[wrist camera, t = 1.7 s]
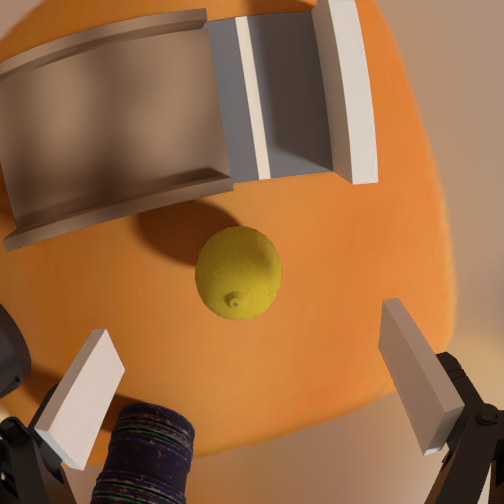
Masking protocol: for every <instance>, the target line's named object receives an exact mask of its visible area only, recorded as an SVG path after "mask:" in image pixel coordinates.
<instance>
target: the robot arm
mask: <svg viewBox="0 0 504 504" xmlns="http://www.w3.org/2000/svg"><path fill="white" fill-rule="evenodd" d="M378 348H379V350H380V352H381V354H382V356H383V359H384V361H385V363H386V365H387V368H388V370H389V372H390V374H391V377H392V379H393V381H394V384H395V386H396V388H397V391H398V393H399V395H400V398H401V400H402V403H403V405H404V407H405V410H406V412H407V415H408V417H409V419H410V422H411V425H412V427H413V430H414V432H415V435H416V437H417V440H418V443H419V445H420V448H421V450H422V453H423V456H425V455H428V454H431V453H434V452H437V451H440V450H442V448H443V446H444V444H445V443H447V445H448V447H449V451H448V453H447V454H446V456H445V458H444V459H443V461H442V463H443V465H442V467H441V469H440V472H439V474H438V476H437V478H436V481H435V483H434V485H433V487H432V489H431V491H430V493H429V495H428V497H427V499H426V501H425V503H424V504H477V503H478V500H479V498H480V495H481V492H482V489H483V486H484V484H485V481H486V478H487V474H488V471H489V468H490V465H491V478H490V490H489V500H488V504H504V410H498V409H497V408H496V407H495V406H493V405H491V404H486V403H484V402H483V400H482V399H481V397H480V396H479V394H478V392H477V391H476V389H475V387H474V386H473V384H472V383H471V381H470V380H469V378H468V376H466V373H465V372H464V370H463V369H462V367H461V365H460V364H459V362H458V361H457V359H456V358H455V357H453V356H452V355H450V354H449V353H448V352H443V353H439V354H436V355H435V354H434V352H433V350H432V349H431V347H430V346H429V344H428V342H427V341H426V339H425V338H424V336H423V335H422V333H421V332H420V330H419V329H418V327H417V325H416V324H415V322H414V321H413V319H412V318H411V316H410V315H409V313H408V312H407V310H406V309H405V307H404V306H403V305H402V303H401V302H400V300H399V299H398V298H394V299H389V300H383V303H382V315H381V326H380V335H379V344H378ZM30 369H31V359H30V354H29V351H28V348H27V345H26V343H25V341H24V339H23V337H22V335H21V333H20V331H19V330H18V328H17V326H16V325H15V323H14V322H13V320H12V319H11V318H10V316H9V315H8V314H7V312H6V311H5V310H4V309H3V308H2V306H1V305H0V399H2V398H3V397H5V396H6V395H8V394H9V393H11V392H12V391H14V390H15V389H17V388H18V387H20V386H21V384H22V383H23V382H24V380H25V379H26V377H27V376H28V374H29V372H30ZM124 371H125V369H124V367H123V365H122V363H121V361H120V359H119V356H118V354H117V352H116V350H115V348H114V346H113V343H112V341H111V339H110V337H109V334H108V332H107V330H106V329H94V330H93V331H92V333H91V334H90V336H89V337H88V339H87V340H86V342H85V343H84V345H83V346H82V348H81V350H80V351H79V353H78V354H77V356H76V357H75V359H74V361H73V362H72V364H71V365H70V367H69V369H68V370H67V372H66V374H65V375H64V377H63V379H62V380H61V382H60V384H56V385H55V386H54V387H52V388H51V389H50V390H49V391H48V393H47V395H46V396H45V398H44V401H42V403H41V405H40V407H39V408H38V410H37V412H36V413H35V415H34V417H33V419H32V420H31V422H30V424H29V426H28V428H26V427H25V426H24V425H23V423H22V422H21V421H20V420H19V419H18V418H17V417H13V416H11V417H8V418H6V419H4V420H3V421H2V422H1V423H0V436H1V437H2V439H0V504H77V503H76V501H75V498H74V496H73V493H72V491H71V488H70V486H69V483H68V480H67V478H66V475H65V472H64V470H63V468H62V466H61V465H60V464H61V462H62V460H63V461H64V462H65V463H66V464H67V465H68V466H69V467H71V468H74V469H79V470H84V467H85V465H86V462H87V459H88V457H89V454H90V452H91V449H92V446H93V444H94V441H95V439H96V436H97V434H98V431H99V429H100V427H101V424H102V422H103V419H104V417H105V414H106V412H107V410H108V407H109V405H110V403H111V400H112V398H113V396H114V393H115V391H116V389H117V386H118V384H119V382H120V380H121V377H122V375H123V373H124ZM1 473H2V474H3V475H4V476H5V479H4V480H2V479H1Z"/></svg>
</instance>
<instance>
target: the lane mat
mask: <svg viewBox="0 0 504 504" xmlns="http://www.w3.org/2000/svg"><path fill="white" fill-rule="evenodd" d="M247 21H248V27H249V33H250V40H251V46H252V52H253V58H254V65H255V71H256V78H257V85H258V91H259V98H260V105H261V112H262V119H263V126H264V133H265V140H266V147H267V155H268V162H269V170H270V177H271V178H277V177H285V176H294V175H303V174H312V173H321V172H332V171H333V163H332V153H331V142H330V133H329V124H328V115H327V107H326V99H325V92H324V85H323V78H322V71H321V64H320V58H319V52H318V46H317V40H316V35H315V29H314V24H313V19H312V14H311V12H288V13H273V14H262V15H253V16H247ZM202 29H208V33H209V40H210V46H211V53H212V60H213V66H214V73H215V80H216V86H217V93H218V99H219V106H220V112H221V119H222V125H223V132H224V138H225V144H226V151H227V157H228V163H229V170H230V173H227V174H225V175H227V176H229V177H231V178H232V183H239V182H246V181H254V180H259V175H258V167H257V160H256V153H255V146H254V139H253V132H252V125H251V119H250V112H249V105H248V98H247V92H246V85H245V78H244V72H243V65H242V59H241V52H240V46H239V40H238V33H237V27H236V21H235V18H230V19H223V20H217V21H211V22H206V23H205V24H204V26H203V28H202Z"/></svg>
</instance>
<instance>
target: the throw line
mask: <svg viewBox="0 0 504 504" xmlns="http://www.w3.org/2000/svg"><path fill="white" fill-rule="evenodd" d="M235 21H236V27H237V33H238V40H239V46H240V52H241V59H242V65H243V72H244V78H245V85H246V92H247V98H248V105H249V112H250V119H251V125H252V132H253V139H254V146H255V153H256V160H257V167H258V175H259V180H262V179H270V178H271V177H270V170H269V162H268V155H267V147H266V140H265V133H264V126H263V119H262V112H261V105H260V98H259V91H258V85H257V78H256V71H255V65H254V58H253V52H252V46H251V40H250V33H249V27H248V21H247V16H243V17H235Z"/></svg>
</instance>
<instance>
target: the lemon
mask: <svg viewBox="0 0 504 504" xmlns="http://www.w3.org/2000/svg"><path fill="white" fill-rule="evenodd" d="M281 271H282V268H281V263H280V258H279V255H278V252H277V251H276V249H275V247H274V245H273V244H272V242H271V241H270V240H269V239H268V238H267V237H266V236H265V235H264V234H262V233H260V232H259V231H257V230H255V229H252V228H249V227H244V226H234V227H228V228H225V229H223V230H221V231H218V232H217V233H215V234H214V235H213V236H212V237H210V238H209V239H208V240H207V242H206V243H205V244H204V246H203V247H202V249H201V250H200V253H199V256H198V258H197V261H196V270H195V280H196V285H197V290H198V293H199V295H200V297H201V299H202V300H203V302H204V304H205V305H206V306H207V307H208V308H209V309H210V310H211V311H213V312H214V313H215V314H217V315H218V316H221V317H223V318H226V319H230V320H246V319H250V318H253V317H255V316H257V315H259V314H261V313H262V312H263V311H265V310H266V309H267V308H268V307H269V306H270V305H271V303H272V302H273V300H274V299H275V297H276V295H277V292H278V289H279V286H280V283H281Z"/></svg>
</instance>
